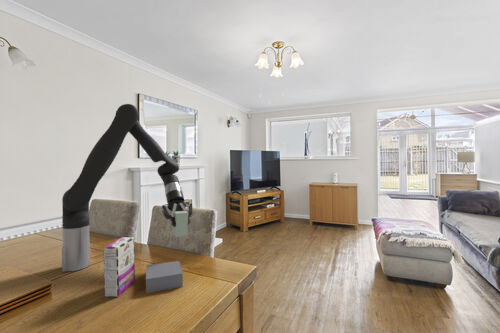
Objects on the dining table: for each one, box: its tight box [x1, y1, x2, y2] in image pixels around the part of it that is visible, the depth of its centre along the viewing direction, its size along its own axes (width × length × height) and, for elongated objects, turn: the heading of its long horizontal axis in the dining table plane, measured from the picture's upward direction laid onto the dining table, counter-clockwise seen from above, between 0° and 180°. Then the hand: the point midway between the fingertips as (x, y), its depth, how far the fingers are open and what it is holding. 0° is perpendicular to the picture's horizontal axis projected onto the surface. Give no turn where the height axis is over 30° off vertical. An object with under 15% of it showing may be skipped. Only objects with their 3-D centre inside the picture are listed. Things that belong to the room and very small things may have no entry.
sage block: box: [172, 211, 189, 238], centre depth 106 cm, size 5×5×10 cm
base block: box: [145, 260, 184, 294], centre depth 89 cm, size 12×12×5 cm
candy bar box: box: [103, 236, 136, 298], centre depth 84 cm, size 11×5×16 cm, turn 179°
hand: (181, 225), depth 104 cm, fingers closed on sage block, 5 cm apart
